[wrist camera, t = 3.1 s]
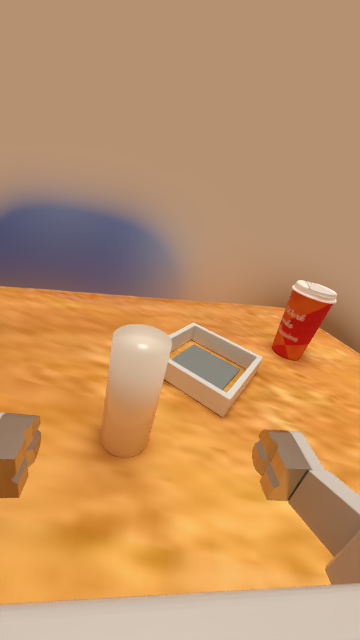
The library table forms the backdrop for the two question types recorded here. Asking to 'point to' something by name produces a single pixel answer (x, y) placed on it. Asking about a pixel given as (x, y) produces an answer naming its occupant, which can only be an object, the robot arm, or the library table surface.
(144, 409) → the white pillar candle
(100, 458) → the library table surface
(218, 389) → the corral
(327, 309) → the paper cup
